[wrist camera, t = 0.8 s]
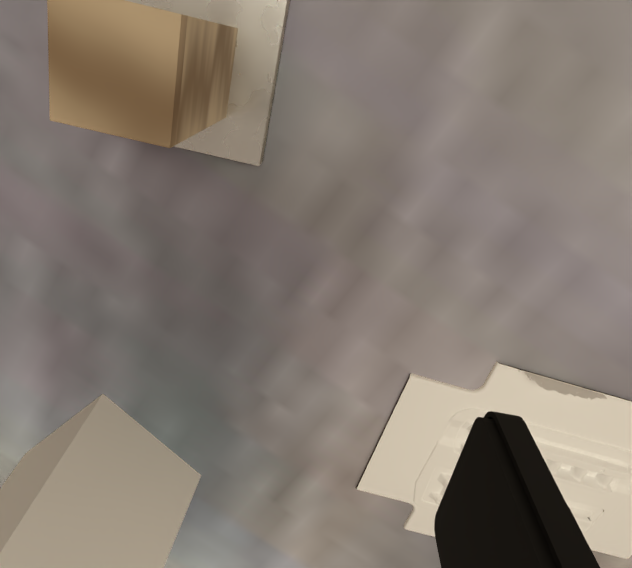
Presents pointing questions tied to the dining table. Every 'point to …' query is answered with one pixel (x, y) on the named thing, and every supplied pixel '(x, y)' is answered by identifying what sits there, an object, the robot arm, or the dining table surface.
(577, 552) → the robot arm
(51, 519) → the milk
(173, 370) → the dining table surface
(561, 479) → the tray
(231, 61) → the strut
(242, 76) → the stud plate
